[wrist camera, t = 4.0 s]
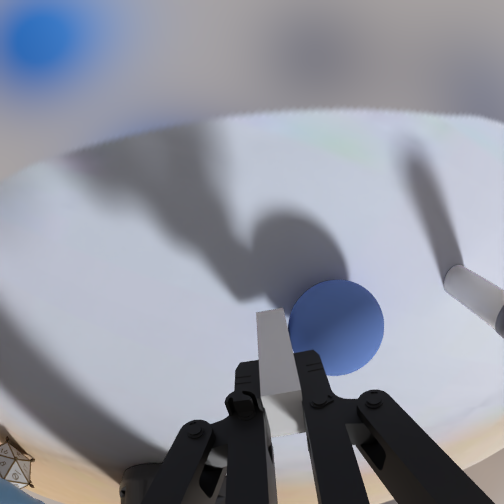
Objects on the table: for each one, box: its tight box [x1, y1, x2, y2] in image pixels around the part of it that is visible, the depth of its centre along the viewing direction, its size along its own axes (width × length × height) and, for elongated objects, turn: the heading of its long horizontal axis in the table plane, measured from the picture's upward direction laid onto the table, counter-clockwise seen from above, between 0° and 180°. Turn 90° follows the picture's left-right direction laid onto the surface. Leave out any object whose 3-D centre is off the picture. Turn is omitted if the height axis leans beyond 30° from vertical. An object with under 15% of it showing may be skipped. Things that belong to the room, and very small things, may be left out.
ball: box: [288, 280, 384, 376], centre depth 16 cm, size 6×6×6 cm
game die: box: [0, 437, 35, 489], centre depth 21 cm, size 9×8×10 cm
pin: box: [444, 265, 504, 338], centre depth 15 cm, size 2×2×8 cm
